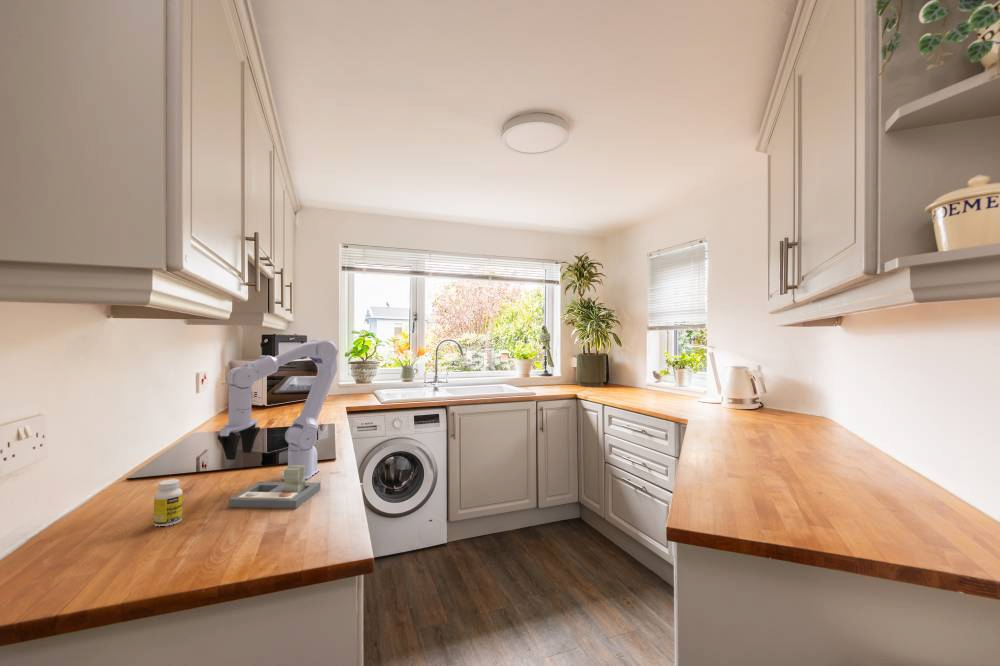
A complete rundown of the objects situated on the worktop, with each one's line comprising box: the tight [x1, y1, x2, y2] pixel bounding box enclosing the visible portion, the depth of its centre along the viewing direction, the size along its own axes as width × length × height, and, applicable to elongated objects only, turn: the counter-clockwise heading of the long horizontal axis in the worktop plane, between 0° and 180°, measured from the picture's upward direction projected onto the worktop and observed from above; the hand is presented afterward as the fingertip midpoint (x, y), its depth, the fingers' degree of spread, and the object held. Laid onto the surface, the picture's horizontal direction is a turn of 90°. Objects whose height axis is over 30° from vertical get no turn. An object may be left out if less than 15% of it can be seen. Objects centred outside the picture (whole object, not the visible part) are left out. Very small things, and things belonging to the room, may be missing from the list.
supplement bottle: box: [153, 478, 184, 528], centre depth 104 cm, size 5×5×10 cm
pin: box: [283, 465, 306, 493], centre depth 122 cm, size 4×4×8 cm
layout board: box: [228, 481, 322, 509], centre depth 121 cm, size 14×18×2 cm
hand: (239, 455), depth 126 cm, fingers open, 7 cm apart
